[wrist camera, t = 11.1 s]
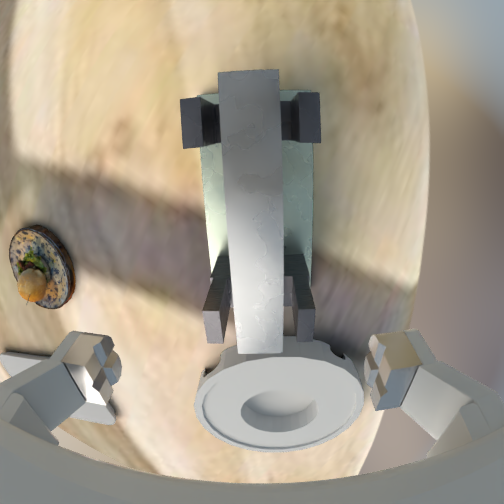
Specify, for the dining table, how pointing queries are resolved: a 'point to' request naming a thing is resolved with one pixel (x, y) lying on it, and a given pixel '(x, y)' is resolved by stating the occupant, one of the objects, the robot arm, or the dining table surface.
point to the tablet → (86, 412)
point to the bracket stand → (294, 204)
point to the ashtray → (280, 397)
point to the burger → (41, 267)
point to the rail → (254, 205)
